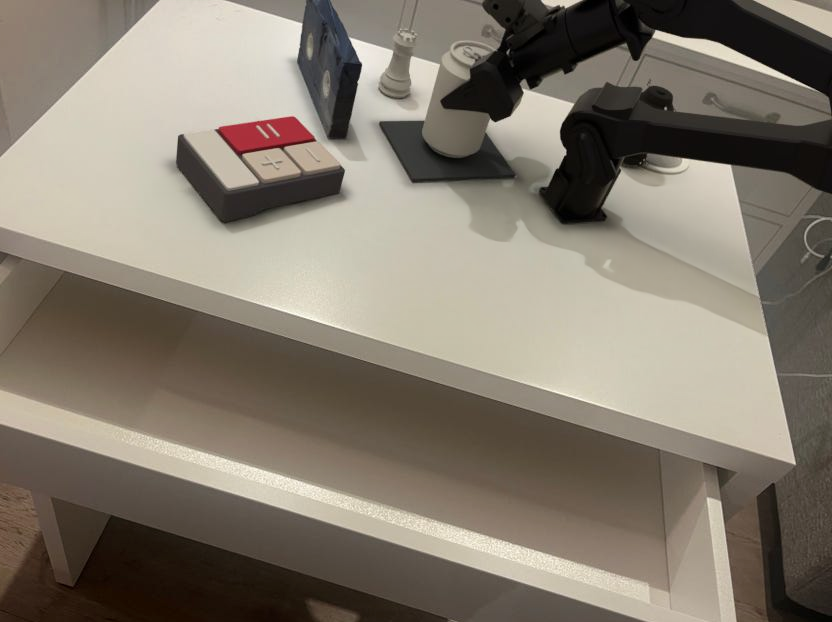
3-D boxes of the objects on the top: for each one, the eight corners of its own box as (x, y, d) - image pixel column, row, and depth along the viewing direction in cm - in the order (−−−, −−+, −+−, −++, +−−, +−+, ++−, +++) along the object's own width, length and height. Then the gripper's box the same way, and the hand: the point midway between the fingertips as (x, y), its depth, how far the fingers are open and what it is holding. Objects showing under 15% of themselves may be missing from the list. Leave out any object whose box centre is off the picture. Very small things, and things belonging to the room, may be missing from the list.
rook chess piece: (379, 78, 105) (392, 21, 99) (410, 86, 105) (425, 29, 99) (375, 94, 101) (388, 36, 96) (408, 102, 102) (423, 45, 96)
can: (465, 169, 92) (496, 76, 83) (410, 144, 93) (434, 50, 84) (487, 143, 96) (518, 53, 88) (435, 120, 98) (460, 29, 89)
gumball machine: (658, 172, 102) (697, 105, 94) (622, 175, 100) (659, 106, 92) (630, 143, 106) (665, 76, 98) (595, 145, 103) (629, 77, 96)
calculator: (348, 164, 83) (226, 188, 75) (340, 197, 86) (222, 223, 78) (295, 111, 88) (176, 127, 80) (289, 143, 91) (174, 162, 83)
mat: (475, 123, 101) (476, 119, 101) (514, 177, 94) (516, 174, 94) (378, 124, 97) (379, 121, 96) (412, 182, 90) (413, 178, 89)
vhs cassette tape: (347, 140, 93) (363, 63, 86) (323, 139, 92) (338, 62, 85) (317, 62, 104) (329, -11, 97) (296, 61, 103) (306, -13, 96)
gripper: (570, -65, 83) (451, 2, 93) (518, -15, 71) (388, 55, 81) (608, 31, 87) (490, 85, 97) (565, 94, 75) (436, 148, 85)
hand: (454, 91), depth 90 cm, fingers closed on can, 7 cm apart
